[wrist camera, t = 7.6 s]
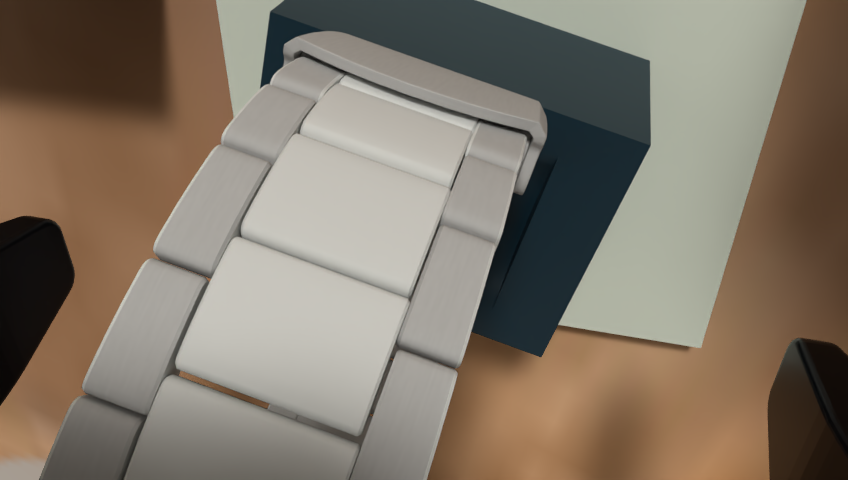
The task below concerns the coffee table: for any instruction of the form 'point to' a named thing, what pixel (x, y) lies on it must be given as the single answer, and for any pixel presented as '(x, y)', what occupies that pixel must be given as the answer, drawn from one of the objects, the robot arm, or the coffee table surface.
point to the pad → (668, 154)
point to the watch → (362, 244)
